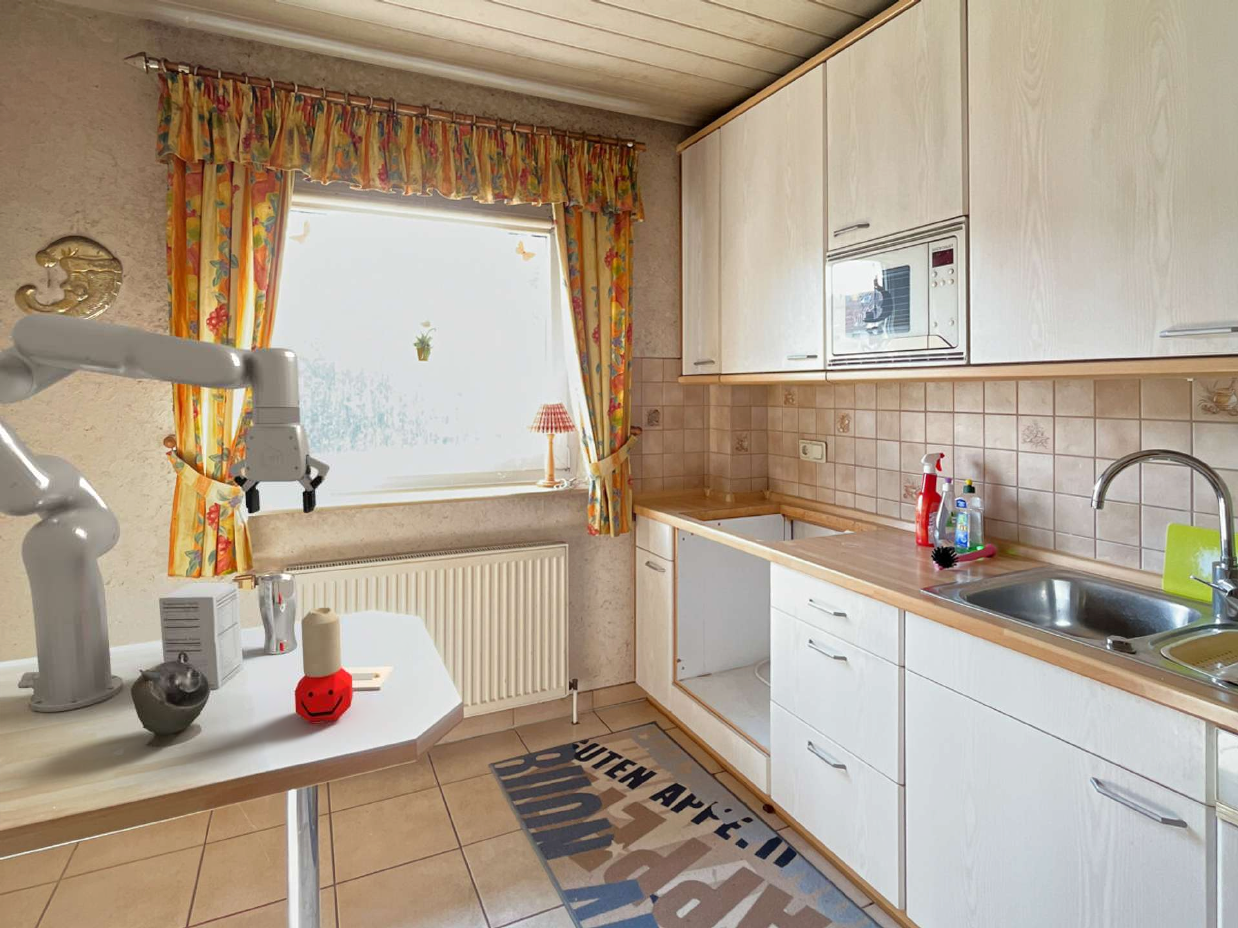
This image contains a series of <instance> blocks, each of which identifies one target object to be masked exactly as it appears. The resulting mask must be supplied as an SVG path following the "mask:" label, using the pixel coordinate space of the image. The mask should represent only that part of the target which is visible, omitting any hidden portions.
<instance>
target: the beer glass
mask: <svg viewBox="0 0 1238 928" xmlns="http://www.w3.org/2000/svg"><path fill="white" fill-rule="evenodd" d="M257 595H258V597H257V598H258V600H257V601H258V606H259V612H260V617H261V620H262V621H261V622H262V624H263V628H264V635H265V636H264V643H263V652H264V653H265V654H267V655H281V654H285V653H289V652H293V651H294V650H295V649H297V647H298V643H297V639H296V634H295V622H296V615H297V608H298V607H297V606H298V605H297V604H298V590H297V583H296V575H295V574H294V573H291V572H280V573H279V572H276V573H270V574H266V575H262V576H260V577H259V578H258V593H257Z"/></svg>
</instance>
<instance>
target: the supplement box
mask: <svg viewBox="0 0 1238 928" xmlns="http://www.w3.org/2000/svg"><path fill="white" fill-rule="evenodd" d="M239 593H240V592H239V583H238V582H189V583H187V584H184V585H183V586H180V587H179V588H177V589H175V590H173V591H171V592H169V593H167V594H164V595H163V596H161V597H159V599H158V603H159V615H160V616H159V617H160V629H161V631H160V632H161V642H162V643H161V644H162V655H163V663H164V662H168V661H173V660H178V655H179V653H181V652H184V653H186V655H187V656H188V658H189V660H188V661H187V662H188V663H190V664H192V665H194V666H196V667H197V668H198V669H200V670H201V671H202V672H203V673H204V675H205V676H206V677H207V679H208V681H209V685H210V690H219V689H220V688H222V687H223V685H225V684H226V683H227V682H228V681H230V680H231V679H232V678H233V677H234V676H235V675H236V674H238V673H239V672H240V671H241V670H243V668H244V664H243V663H244V662H243V660H244V659H243V648H242V647H243V646H242V645H243V644H242V643H243V642H242V628H241V612H240V611H241V610H240V596H239V595H240V594H239Z"/></svg>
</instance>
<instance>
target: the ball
mask: <svg viewBox="0 0 1238 928" xmlns="http://www.w3.org/2000/svg"><path fill="white" fill-rule="evenodd" d="M343 668H344V667H341V669H340V670H339V671H338V672H336V673H334V674H332V675H328V676H323V677H309V676H306V675H305V674H304V676H302V678H301V679H299V681H298V683H297V685H296V688H295V690H294V700H295V701H294V702H295V703H294V704H295V705H294V707H295V713H296V714H297V716H298V715H299V716H300V717H301V718H302V719H304V720H306V721H307V723H310V724H319V723H326V722H334V721H336V722H337V721H338V720H339V719H340V718H341V717H342V716H343V715H344V714H345V713H346V711H348V710H349V709H350V707H351V705H352V701H353V697H354V694H353V693H354V690H353V688H352V675H350V674H349V673H348V672H347V671H345V670H344V669H343Z"/></svg>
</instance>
